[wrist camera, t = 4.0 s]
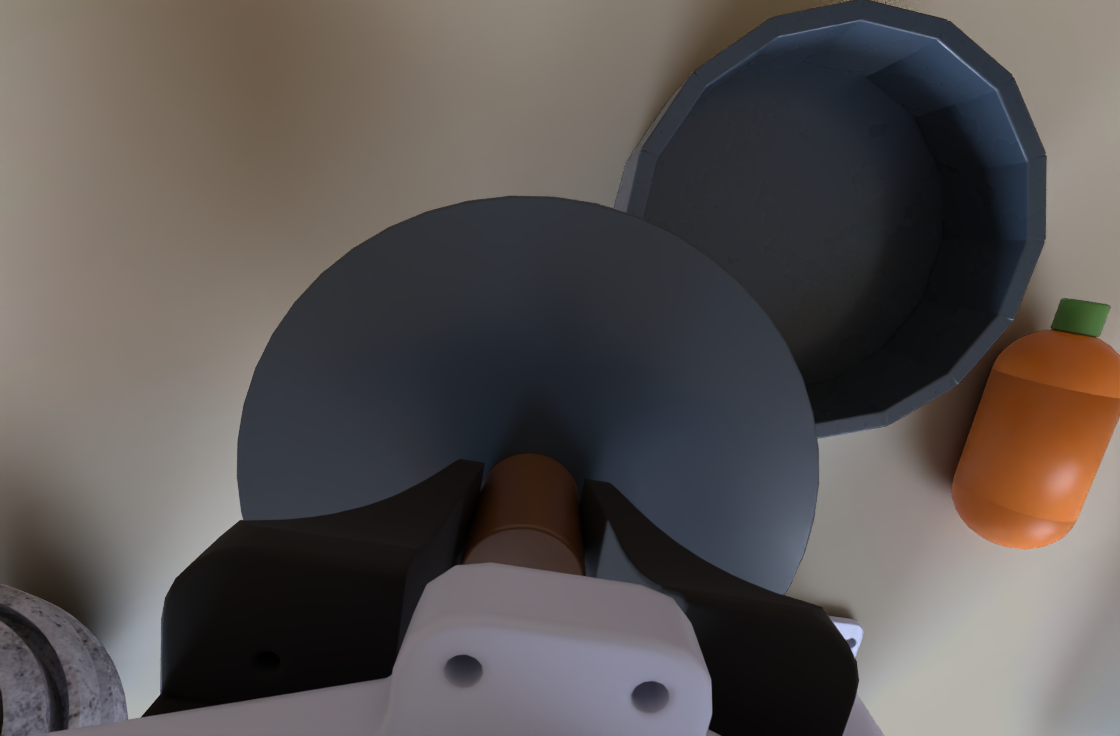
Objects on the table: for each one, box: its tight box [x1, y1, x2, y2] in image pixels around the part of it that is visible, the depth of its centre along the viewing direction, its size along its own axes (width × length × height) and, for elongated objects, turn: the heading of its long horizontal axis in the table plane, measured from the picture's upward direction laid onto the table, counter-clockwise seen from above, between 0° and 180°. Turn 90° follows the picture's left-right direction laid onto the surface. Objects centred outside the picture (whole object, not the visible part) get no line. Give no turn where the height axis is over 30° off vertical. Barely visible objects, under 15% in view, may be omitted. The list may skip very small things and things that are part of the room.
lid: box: [237, 196, 819, 595], centre depth 13 cm, size 14×14×5 cm
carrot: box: [952, 298, 1120, 549], centre depth 22 cm, size 10×4×4 cm, turn 171°
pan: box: [614, 0, 1047, 439], centre depth 20 cm, size 13×13×4 cm
